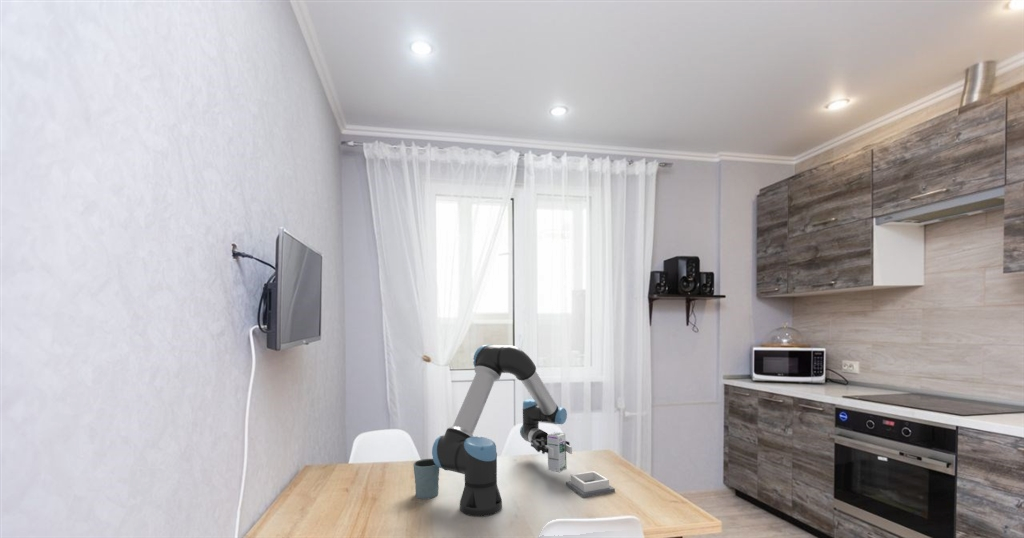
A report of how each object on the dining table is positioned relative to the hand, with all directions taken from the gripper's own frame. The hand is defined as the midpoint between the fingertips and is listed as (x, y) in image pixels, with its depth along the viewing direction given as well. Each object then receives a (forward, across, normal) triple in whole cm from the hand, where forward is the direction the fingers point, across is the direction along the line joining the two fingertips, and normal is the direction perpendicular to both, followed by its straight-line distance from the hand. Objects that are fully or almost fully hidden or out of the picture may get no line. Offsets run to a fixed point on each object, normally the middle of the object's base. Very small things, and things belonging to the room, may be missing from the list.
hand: (562, 451), depth 183 cm
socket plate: (+8, -8, -13) cm, 17 cm away
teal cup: (-12, +53, -14) cm, 56 cm away
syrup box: (-5, 0, -9) cm, 10 cm away
